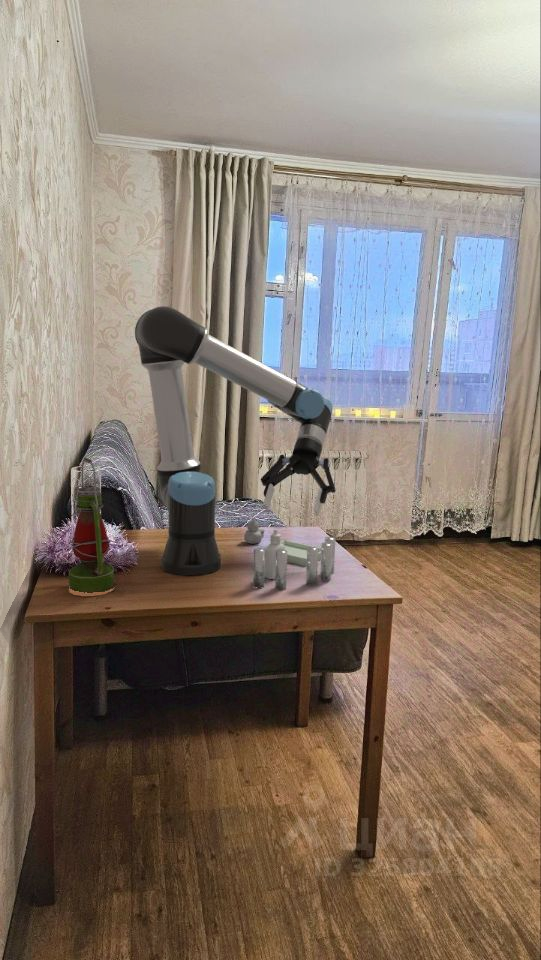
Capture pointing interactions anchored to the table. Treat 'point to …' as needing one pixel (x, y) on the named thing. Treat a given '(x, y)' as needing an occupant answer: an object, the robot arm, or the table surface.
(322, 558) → the spacers
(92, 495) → the lantern
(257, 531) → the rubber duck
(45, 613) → the table surface
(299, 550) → the tray
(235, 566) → the table surface
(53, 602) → the table surface
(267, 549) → the eye dropper bottle
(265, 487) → the robot arm
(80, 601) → the table surface
